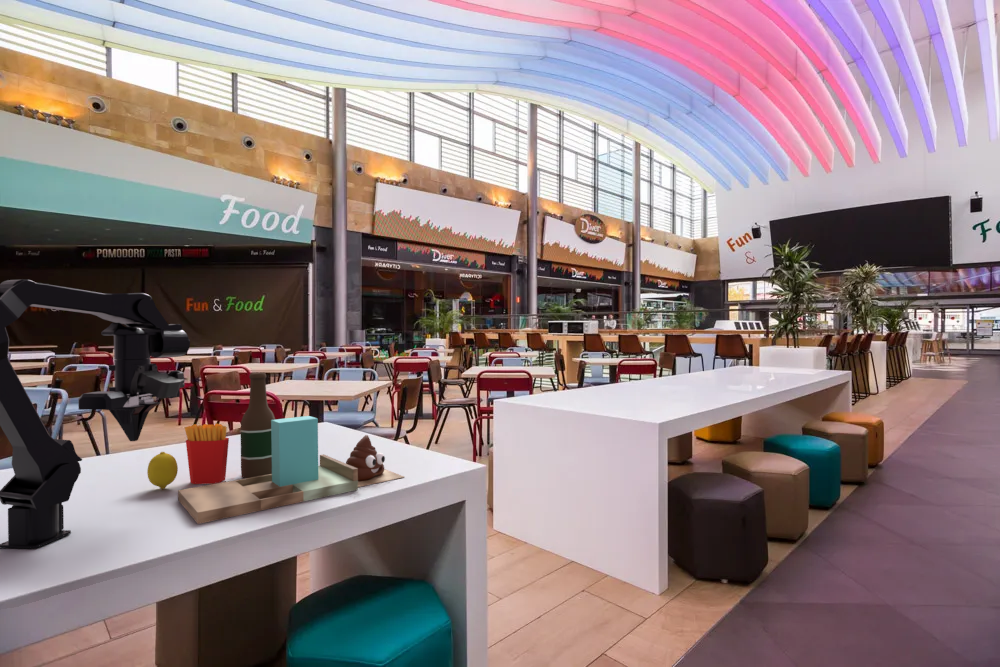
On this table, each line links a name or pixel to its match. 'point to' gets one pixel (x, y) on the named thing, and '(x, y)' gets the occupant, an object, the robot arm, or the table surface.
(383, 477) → the coaster
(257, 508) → the board
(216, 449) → the french fries
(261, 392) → the beer bottle
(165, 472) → the lemon
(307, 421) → the block
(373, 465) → the poop emoji
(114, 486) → the table surface
